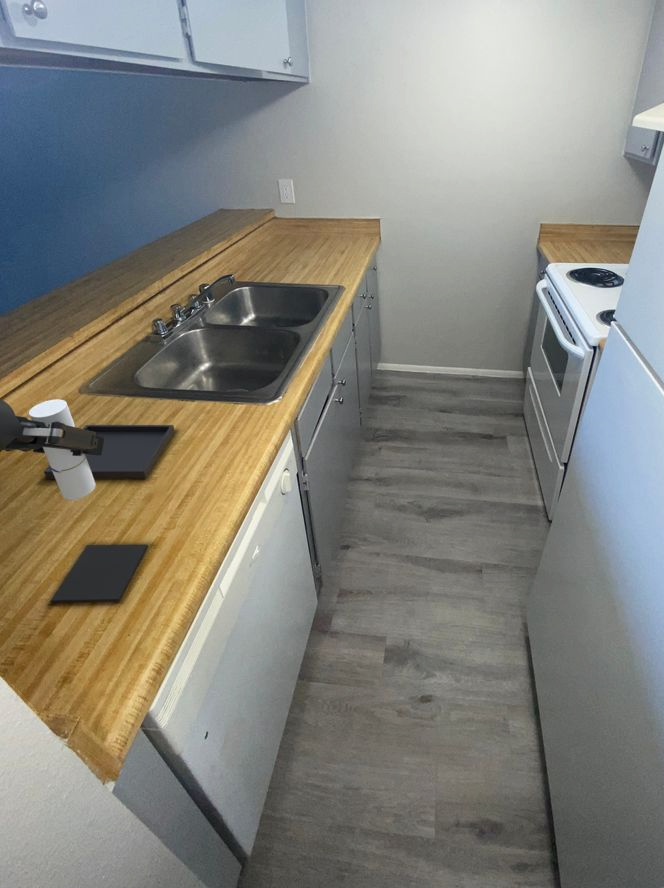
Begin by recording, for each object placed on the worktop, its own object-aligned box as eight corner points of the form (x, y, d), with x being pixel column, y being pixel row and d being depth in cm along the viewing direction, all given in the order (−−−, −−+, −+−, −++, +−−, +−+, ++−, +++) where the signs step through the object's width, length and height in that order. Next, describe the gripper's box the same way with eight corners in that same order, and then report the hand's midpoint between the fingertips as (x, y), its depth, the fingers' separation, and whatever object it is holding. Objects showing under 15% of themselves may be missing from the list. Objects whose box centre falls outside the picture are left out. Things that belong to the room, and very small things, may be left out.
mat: (51, 602, 71) (50, 600, 71) (87, 547, 80) (86, 545, 80) (119, 601, 72) (118, 599, 72) (148, 546, 81) (147, 544, 80)
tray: (46, 479, 94) (43, 471, 93) (88, 431, 107) (86, 424, 106) (145, 478, 95) (143, 471, 94) (175, 431, 108) (173, 424, 107)
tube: (100, 478, 74) (72, 398, 67) (88, 498, 70) (58, 416, 63) (69, 480, 73) (38, 400, 66) (57, 501, 69) (22, 418, 62)
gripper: (47, 390, 52) (145, 422, 74) (-121, 390, 51) (30, 422, 73) (31, 460, 50) (137, 471, 72) (-144, 461, 49) (18, 472, 71)
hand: (83, 446), depth 72 cm, fingers closed on tube, 4 cm apart
